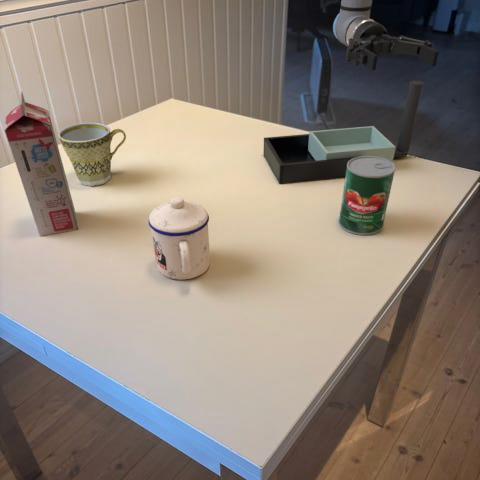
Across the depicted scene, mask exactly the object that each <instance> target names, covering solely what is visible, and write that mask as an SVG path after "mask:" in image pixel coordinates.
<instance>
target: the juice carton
mask: <svg viewBox="0 0 480 480" xmlns="http://www.w3.org/2000/svg"><path fill="white" fill-rule="evenodd" d="M4 133H5V135H6V139H7V142H8V146H9V147H10V151H11V155H12V157H13V160H14V162H15V166H16V169H17V172H18V174H19V178H20V181H21V184H22V187H23V189H24V194H25V196H26V199H27V202H28V205H29V208H30V211H31V213H32V216H33V220H34V222H35V223H34V224H35V225H36V229H37V232H38V235H39V237H43V236H49V235H54V234H61V233H67V232H71V231H77V230H79V226H78V219H77V213H76V209H75V204H74V201H73V198H72V194H71V190H70V186H69V182H68V179H67V175H66V172H65V171H66V170H65V168H64V164H63V161H62V156H61V153H60V149H59V146H58V141H57V137H56V134H55V131H54V126H53V123H52V119H51V115H50V111H49V110H47V109H46V108H43V107H40V106H38V105H35V104H32V103H30V102H27V101H25V97H24V94H23V91H20V104H18V105H16V107H15V108H13V109H12V110H10V111H9V112H8V113H7V114H6V115H5V122H4Z"/></svg>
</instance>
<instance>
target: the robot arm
mask: <svg viewBox="0 0 480 480" xmlns="http://www.w3.org/2000/svg"><path fill="white" fill-rule="evenodd" d="M372 5H373V0H341V2H340V8H339V9H340V10H339V13H338V14H337V15H336V17H335V18H334V21H333V25H332V31H333V35H334V37H335V38H336V39H337V40H338V42H339V43H341V45H344V46H346V47H347V48H346V55H345V61H346V62H348V63H349V62H352V60H354V62H353V65H354V66H360V64H362V65H363V66H365V67H366V68H368V69H369V70H370V71H376V69H377V63H378V57H379V56H380V55H381V56H382V55H389V56H390V55H391V56H395V55H397V54H399V55H405V56H412V57H417V58H418V59H419V60H420V61H422V62H424V63H425V64H427V65H429V66H431V67H436V65H437V61H438V57H439V53H440V52H439V51H437V50H435V49H434V46H435V43H434V42H430V40H420V39H417V38H416V39H415V38H411V37H408V36H404V35H402V34H401V35H399V36H392V35H390V34H388V31H387V29H386V27H385V26H384V25H383V24H381V23H379V22H377V21H375V20H374V19H371V18H370V16H371V10H372Z"/></svg>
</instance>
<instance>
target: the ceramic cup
mask: <svg viewBox="0 0 480 480" xmlns="http://www.w3.org/2000/svg"><path fill="white" fill-rule="evenodd" d="M119 133H121V134H123V138H122V140H121V141H120V142H119V144H117V146H116V147H115V149H114V150H113V151H111V150H112V149H111V145H112V141H113V138H114V136H115V135H117V134H119ZM57 134H58V135H57V136H58V139H59V142H60V144H61V146H62V148H63V150H64V153H65V154H66V156H67V157H68V159H69V161H70V164H71V165H72V168H73V170H74V172H75V175H76V177H77V180H78V182H79V183H80V185H82V186H87V185H88V187H94V186H95V185H96V186H100V185H104V184H106V183H108V181H110V180H111V179H112V169H111V168H112V159H113V156H114V155H115V154H116V153H117V151H118V150H119V148H120V147H121V146H122V145H123V144H125V142H126V139H127V135H126V132H125V131H124V130H123V129H121V128H116V129H115V128H114V129H113V130H112V131H111V128H110V126H108V125H106V124H103V123H100V122H82V123H81V122H80V123H75V124H71V125H69V126H66V127H64V128H62V129H61V130H59V132H58V133H57Z"/></svg>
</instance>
